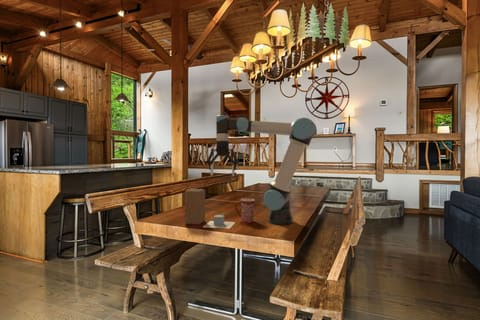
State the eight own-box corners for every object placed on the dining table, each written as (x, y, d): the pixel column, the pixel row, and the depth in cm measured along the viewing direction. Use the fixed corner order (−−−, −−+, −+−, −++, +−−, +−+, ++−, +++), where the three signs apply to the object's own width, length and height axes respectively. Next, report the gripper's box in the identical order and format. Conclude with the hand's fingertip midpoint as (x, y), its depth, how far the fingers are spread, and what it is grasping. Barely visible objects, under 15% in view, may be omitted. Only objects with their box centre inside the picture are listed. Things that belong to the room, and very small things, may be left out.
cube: (224, 223, 166) (224, 215, 166) (222, 225, 161) (222, 217, 161) (216, 223, 167) (216, 214, 167) (213, 225, 162) (213, 216, 162)
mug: (256, 220, 176) (256, 198, 175) (252, 223, 167) (252, 201, 167) (237, 218, 180) (237, 197, 179) (232, 221, 171) (232, 200, 171)
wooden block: (200, 225, 164) (199, 191, 163) (184, 224, 166) (183, 190, 165) (205, 220, 173) (205, 189, 173) (190, 220, 175) (190, 188, 175)
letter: (235, 222, 170) (235, 221, 170) (229, 228, 156) (229, 228, 156) (210, 221, 173) (210, 220, 173) (202, 227, 159) (202, 226, 159)
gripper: (243, 140, 171) (243, 175, 171) (205, 141, 176) (205, 174, 176) (241, 140, 163) (241, 176, 164) (201, 140, 168) (201, 175, 169)
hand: (222, 175), depth 170 cm, fingers open, 13 cm apart
